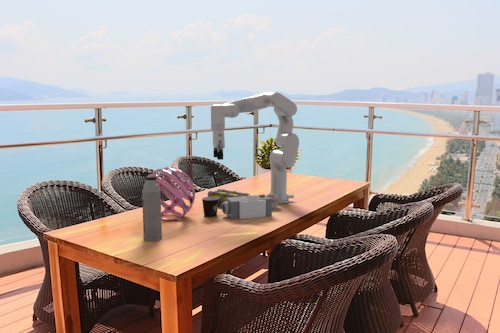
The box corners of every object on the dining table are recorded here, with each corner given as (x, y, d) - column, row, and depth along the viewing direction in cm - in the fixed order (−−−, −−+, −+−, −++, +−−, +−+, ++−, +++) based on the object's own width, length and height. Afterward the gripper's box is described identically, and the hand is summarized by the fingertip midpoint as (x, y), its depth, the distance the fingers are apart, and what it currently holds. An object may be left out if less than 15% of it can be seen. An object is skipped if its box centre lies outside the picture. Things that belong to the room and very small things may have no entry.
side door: (265, 217, 245) (265, 194, 243) (266, 218, 244) (266, 194, 242) (238, 220, 241) (238, 196, 239) (239, 220, 239) (239, 196, 237)
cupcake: (270, 206, 271) (270, 189, 269) (282, 209, 264) (282, 191, 263) (259, 209, 264) (259, 191, 263) (271, 212, 258) (271, 194, 256)
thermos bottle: (142, 241, 206) (140, 178, 201) (145, 236, 213) (143, 175, 209) (160, 241, 206) (159, 178, 202) (162, 235, 214) (161, 175, 210)
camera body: (265, 212, 256) (265, 193, 254) (271, 217, 246) (272, 197, 245) (221, 216, 248) (220, 196, 247) (226, 221, 239) (225, 200, 237)
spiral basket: (139, 189, 221) (179, 153, 234) (122, 193, 245) (159, 160, 258) (177, 232, 229) (213, 195, 241) (157, 231, 252) (191, 198, 265)
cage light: (218, 187, 287) (257, 193, 268) (218, 200, 288) (257, 207, 269) (201, 191, 276) (240, 198, 257) (202, 204, 277) (240, 212, 258)
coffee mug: (206, 219, 241) (205, 200, 240) (199, 216, 249) (199, 197, 248) (226, 217, 247) (226, 198, 245) (219, 213, 254) (219, 195, 253)
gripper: (228, 128, 248) (228, 160, 251) (221, 126, 264) (221, 156, 267) (214, 128, 246) (214, 160, 249) (208, 126, 262) (208, 156, 265)
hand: (218, 158), depth 258 cm, fingers open, 9 cm apart
